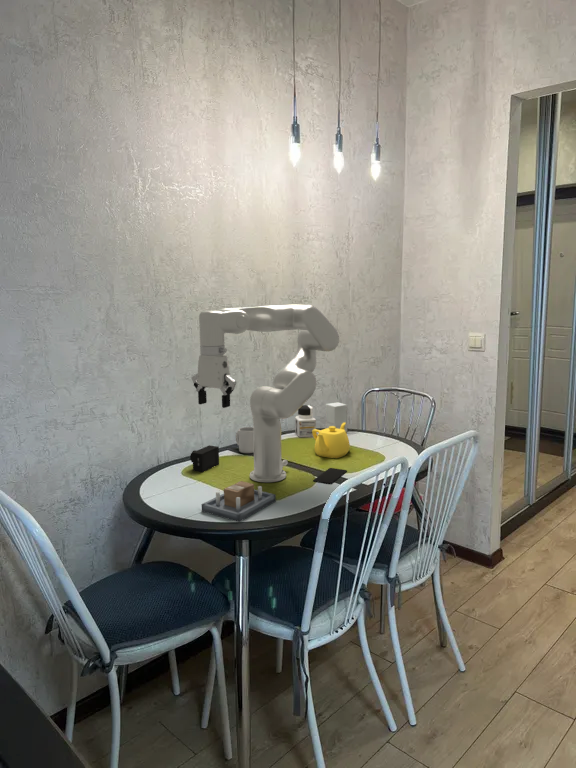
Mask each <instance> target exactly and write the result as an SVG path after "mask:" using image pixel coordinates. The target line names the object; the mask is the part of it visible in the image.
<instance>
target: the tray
mask: <svg viewBox="0 0 576 768" xmlns="http://www.w3.org/2000/svg"><path fill="white" fill-rule="evenodd" d="M276 500H277V497H276V494H275V493H271V492H270V493H269V492H267V491H263V486H262V485H259V486H257V489H255V488H254V500H253V501H251V502H249V503H247V504H245V505H243V506H241V507H240V497H237V498H236V508H234V507H230V506H227V505H224V493H222V494H221V492H220V491H217V492H215V497H214V498H212V499H209V500H208V501H206V502H203V503H202V504H201V512H204V513H206V514H209V515H214V516H216V517H220V518H223V519H228V520H231V521H235V522H238V523H240V522H242V521H245V519H247V518H249V517H251V516H252V515H254V514H256V513H258V512H260V511H261V510H263V509H264V508H267V507H268V506H270V505H272V504H274V503H275V502H276Z"/></svg>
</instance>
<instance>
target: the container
mask: <svg viewBox="0 0 576 768" xmlns="http://www.w3.org/2000/svg"><path fill="white" fill-rule="evenodd" d="M294 425H295V426H294V428H295V429H294V431H295V432H294V433H295V434H296V435H297V436H298V437H299V438H309V437H313V434H312V430H313V429H317V420H316V418H315V417H314V408H313V406H311V405H309V404H308V405H307V404H303V405H302V406H301V407H300V408H299V409H298V410H297V415H296V416H295V418H294Z"/></svg>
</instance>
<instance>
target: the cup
mask: <svg viewBox="0 0 576 768" xmlns="http://www.w3.org/2000/svg"><path fill="white" fill-rule="evenodd" d="M235 442H236V444H237V446H238V451H239V452H240V453H242V454H254V437H253V426H244V427H240V428H239V429H238V430H237V431H236V432H235Z"/></svg>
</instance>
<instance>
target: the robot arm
mask: <svg viewBox="0 0 576 768" xmlns="http://www.w3.org/2000/svg"><path fill="white" fill-rule="evenodd" d="M198 321H199V322H198V327H199V350H200V351H199V356H198V363H197V373H196V374H194V375H192V377H191V381H192V382H193V383H192V384H193V386H194V388H195V391H196V392H197V398H198V402H197V403H198V405H205V404H207V399H208V398H207V390H206V388H209V389H210V388H211V389H219V390H220V391H221V393H222V395H221V406H222V409H226V408H228V407H231V395H232V394H233V392H234V390H235V387H236V384H237V381H236V380H235V379H234V378H232V377H231V369H230V363H229V359H228V356H227V355H226V353H227V348H226V346H225V344H226V343H225V334H234V335H239V334H242V333H244V332H247V331H252V332H259V333H260V332H261V333H262V332H263V333H267V332H268V333H271V332H283V331H294V330H299V332H298V334H297V339H296V341H297V349H296V353H295V355H294V356H293V357H292V359H291V360H289V361H288V362H287V363H286V364H285V365H284V366H283V367H282V368H281V369H280V370H279V371H278V372H277V373H276V374H275V376H274V378H273V387H272V386H266V385H263V386H258V387H256V388H255V389H254V390H253V391H252V393H251V394H250V398H249V405H250V411H251V417H252V423H253V425H252V427H253V437H254V453H253V470H252V471H250V473H249V479H251V480H252V481H255V482H260V483H275V482H280V481H282V480H285V479H286V477H287V472H286V471H285V470H283V468H284V467H285V466H287V465H288V463H289V462H288V460H287V459H283V460H282V423H281V420H286V419H289V418H291V417H292V416H294V414H296V413H297V412H298V409H299V408H300V407H301V406H302V405H305V404H306V402H307V401H309V400H310V398H311V397H312V396H313V395H314V393H315V391H316V387H317V378H316V376H315V374H314V371H315V370H316V366H317V351H319V352H320V351H321V352H332V351H334V350H335V349H336V348H337V347H338V345H339V343H340V335H339V332H338V331H337V328H336V327H335V326H334V325H333V324H332V323H331V322H330V320H329V319H328V318H327V317H326V315H324V314H323V313H322V312H321V311H320V310H319V308H318V307H316V306H314V305H311V304H282V305H280V304H279V305H260V306H252V307H251V306H250V307H231V308H229V307H228V308H219V309H216V310H203V311H200V313H199V316H198Z"/></svg>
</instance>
